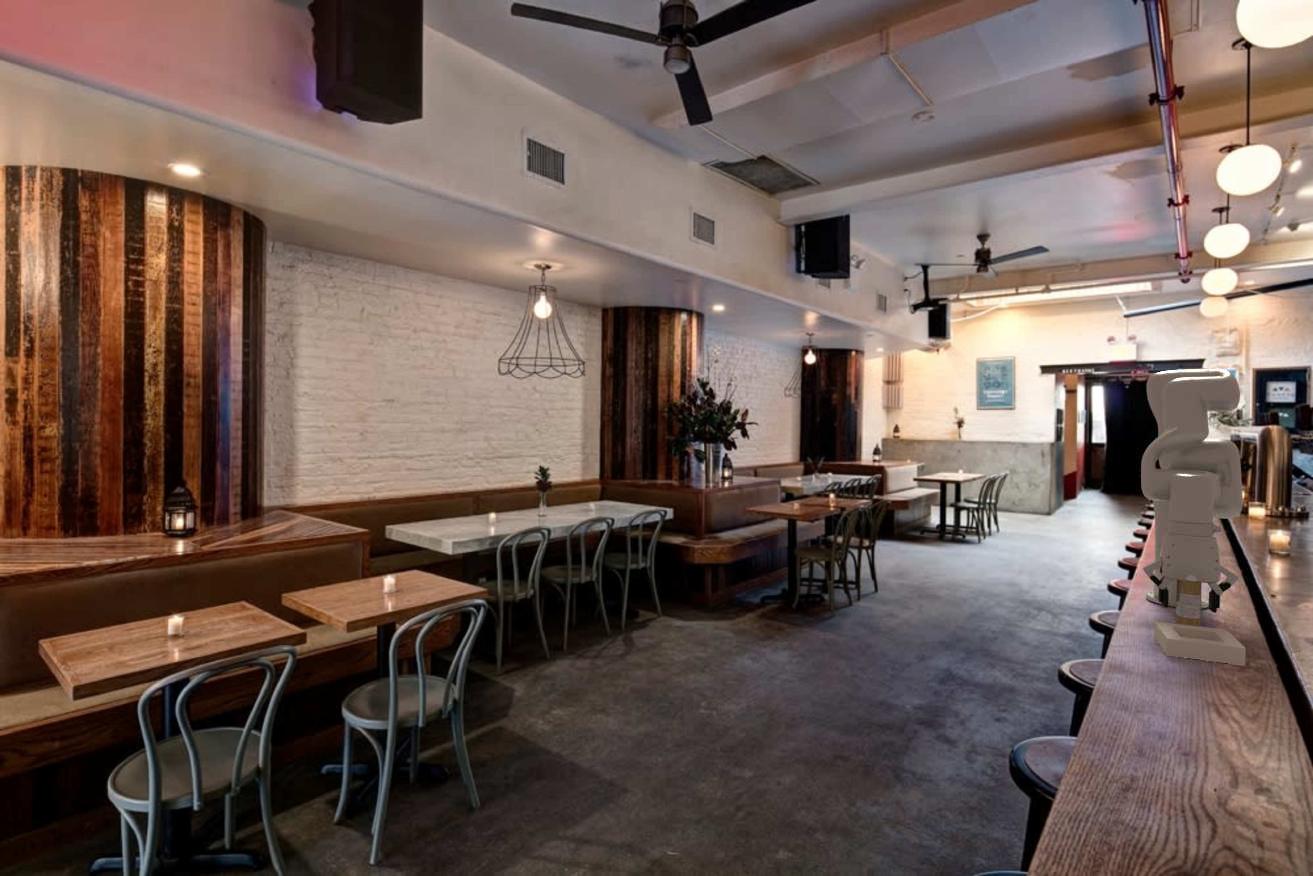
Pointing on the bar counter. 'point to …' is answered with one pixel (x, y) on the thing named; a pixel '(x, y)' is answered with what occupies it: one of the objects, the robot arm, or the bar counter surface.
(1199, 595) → the sprinkles bottle
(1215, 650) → the collar
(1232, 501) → the robot arm
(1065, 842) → the bar counter surface
